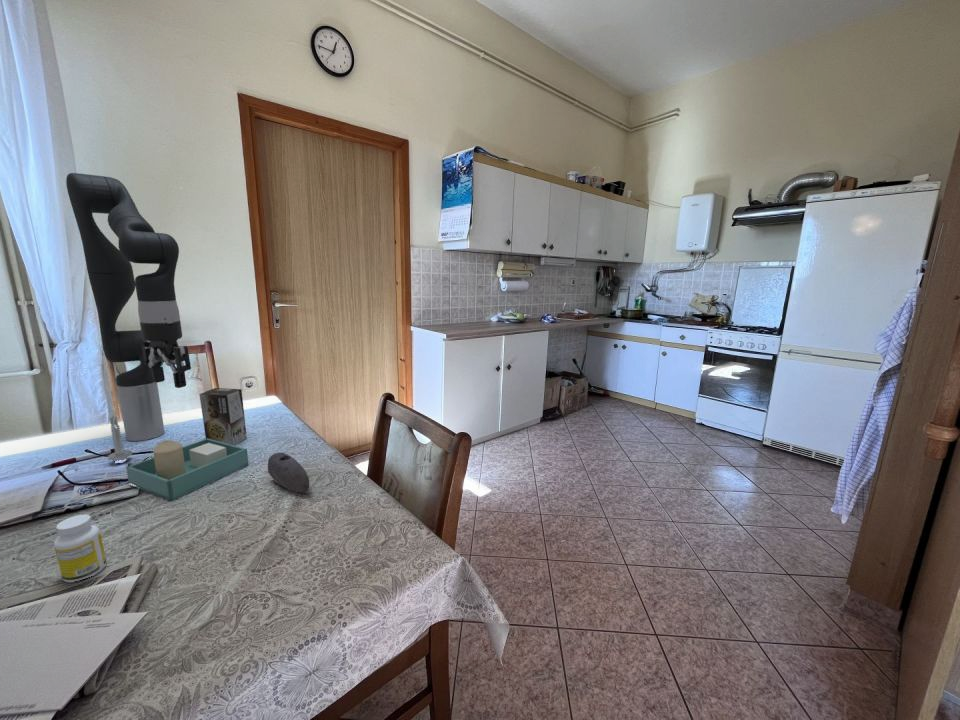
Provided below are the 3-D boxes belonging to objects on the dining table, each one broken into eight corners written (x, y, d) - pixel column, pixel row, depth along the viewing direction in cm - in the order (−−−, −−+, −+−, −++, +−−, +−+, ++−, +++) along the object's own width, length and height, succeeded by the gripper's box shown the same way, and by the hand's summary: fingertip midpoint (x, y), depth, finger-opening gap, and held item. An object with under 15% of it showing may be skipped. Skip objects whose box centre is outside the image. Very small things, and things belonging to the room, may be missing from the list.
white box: (191, 465, 102) (189, 449, 101) (210, 457, 106) (208, 442, 105) (209, 471, 99) (206, 455, 98) (227, 463, 104) (226, 447, 103)
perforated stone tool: (317, 493, 92) (316, 466, 91) (296, 502, 88) (293, 474, 87) (287, 472, 101) (285, 448, 100) (266, 480, 97) (264, 455, 96)
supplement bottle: (82, 561, 69) (72, 512, 67) (115, 560, 69) (105, 511, 67) (52, 584, 63) (39, 532, 61) (88, 583, 64) (76, 531, 62)
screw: (105, 463, 103) (127, 456, 108) (114, 467, 101) (136, 460, 106) (96, 417, 101) (119, 412, 105) (105, 421, 99) (129, 415, 103)
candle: (191, 476, 96) (186, 439, 94) (168, 487, 91) (162, 448, 89) (176, 472, 98) (171, 435, 96) (152, 483, 93) (146, 444, 91)
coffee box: (248, 437, 122) (242, 388, 118) (233, 446, 116) (227, 394, 112) (221, 436, 123) (215, 387, 119) (205, 444, 116) (198, 393, 113)
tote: (129, 485, 93) (126, 467, 92) (209, 453, 110) (207, 438, 109) (170, 501, 87) (167, 481, 86) (248, 465, 104) (246, 448, 103)
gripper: (123, 318, 91) (134, 383, 95) (161, 324, 86) (171, 393, 90) (159, 315, 98) (168, 376, 102) (196, 320, 93) (204, 384, 97)
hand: (169, 384), depth 96 cm, fingers open, 8 cm apart
